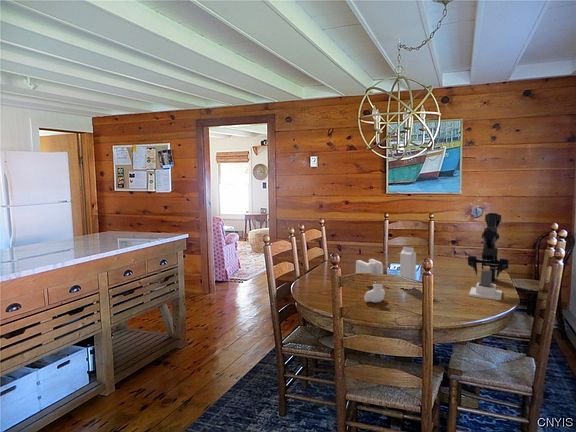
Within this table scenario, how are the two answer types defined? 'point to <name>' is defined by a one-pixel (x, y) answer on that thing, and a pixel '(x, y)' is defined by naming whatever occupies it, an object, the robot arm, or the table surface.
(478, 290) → the end holder
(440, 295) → the table surface
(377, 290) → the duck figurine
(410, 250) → the milk
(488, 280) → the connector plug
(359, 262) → the cable organizer
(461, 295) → the table surface
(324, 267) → the table surface
